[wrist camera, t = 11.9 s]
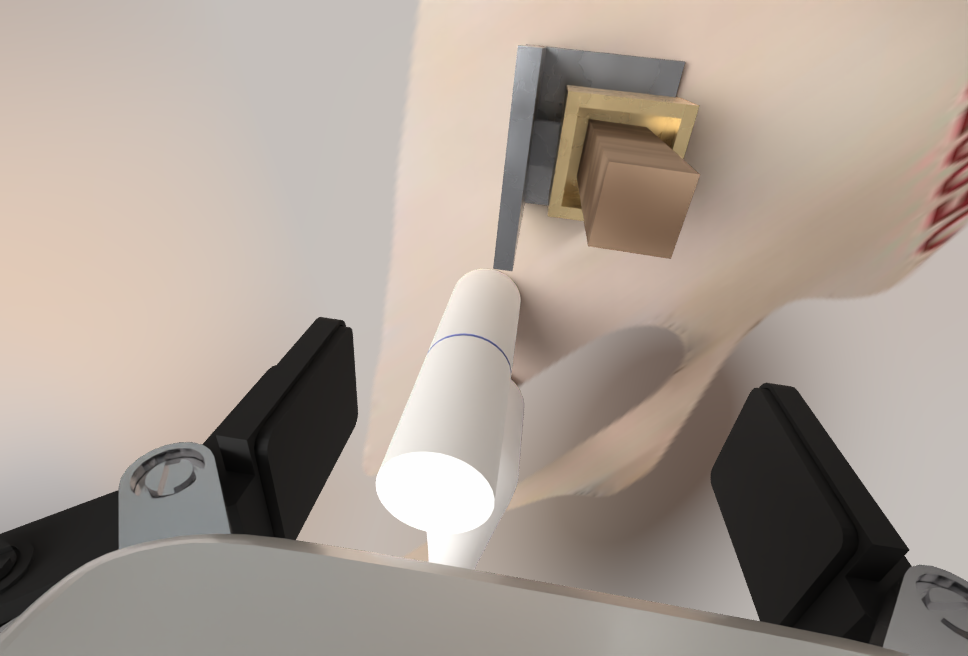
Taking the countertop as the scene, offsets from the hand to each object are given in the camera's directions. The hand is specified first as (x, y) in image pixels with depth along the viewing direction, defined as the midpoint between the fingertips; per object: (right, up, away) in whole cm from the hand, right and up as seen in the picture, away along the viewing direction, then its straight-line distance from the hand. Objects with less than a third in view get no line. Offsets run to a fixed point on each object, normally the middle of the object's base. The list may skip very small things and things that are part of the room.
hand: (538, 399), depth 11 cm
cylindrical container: (-1, +5, +38) cm, 38 cm away
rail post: (+8, +14, +22) cm, 28 cm away
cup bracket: (+7, +18, +28) cm, 34 cm away
